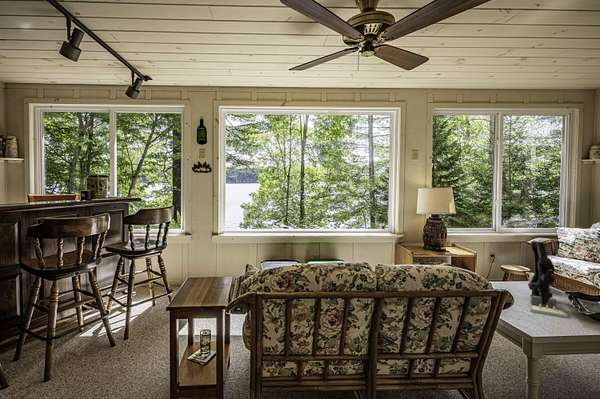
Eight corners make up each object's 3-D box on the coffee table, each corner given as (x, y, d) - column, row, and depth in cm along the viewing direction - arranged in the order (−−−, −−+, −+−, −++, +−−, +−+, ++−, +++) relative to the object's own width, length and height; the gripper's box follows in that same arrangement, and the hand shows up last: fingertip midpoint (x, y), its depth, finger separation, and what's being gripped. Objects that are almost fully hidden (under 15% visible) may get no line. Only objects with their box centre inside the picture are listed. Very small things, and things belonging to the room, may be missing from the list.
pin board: (528, 306, 207) (528, 300, 207) (563, 312, 198) (564, 305, 198) (530, 311, 199) (530, 304, 199) (567, 318, 190) (567, 310, 190)
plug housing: (530, 302, 215) (530, 294, 215) (554, 306, 209) (555, 298, 209) (531, 304, 211) (531, 297, 211) (556, 308, 205) (556, 300, 204)
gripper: (527, 274, 221) (525, 297, 222) (531, 281, 205) (530, 305, 206) (547, 277, 216) (546, 300, 217) (553, 284, 200) (551, 309, 200)
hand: (542, 303), depth 210 cm, fingers closed on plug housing, 5 cm apart
